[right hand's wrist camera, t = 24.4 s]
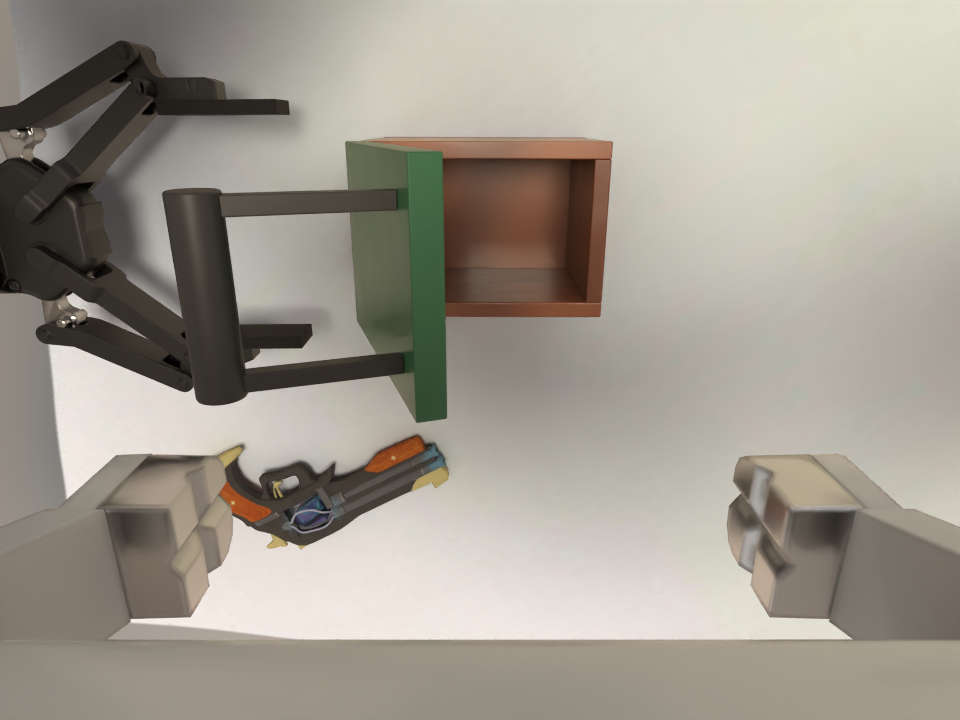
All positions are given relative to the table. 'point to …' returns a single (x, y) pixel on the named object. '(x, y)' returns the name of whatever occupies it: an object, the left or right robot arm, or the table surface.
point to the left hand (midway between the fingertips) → (296, 228)
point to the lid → (377, 274)
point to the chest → (522, 224)
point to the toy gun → (329, 492)
